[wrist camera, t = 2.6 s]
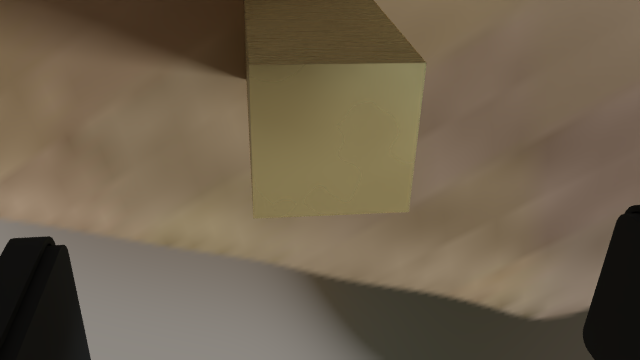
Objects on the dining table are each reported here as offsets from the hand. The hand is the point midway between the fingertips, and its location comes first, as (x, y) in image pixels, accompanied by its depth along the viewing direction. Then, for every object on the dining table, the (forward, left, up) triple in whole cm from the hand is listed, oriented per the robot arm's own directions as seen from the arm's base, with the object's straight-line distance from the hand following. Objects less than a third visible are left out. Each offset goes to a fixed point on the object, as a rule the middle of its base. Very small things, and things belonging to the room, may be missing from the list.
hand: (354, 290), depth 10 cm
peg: (0, 0, -15) cm, 15 cm away
